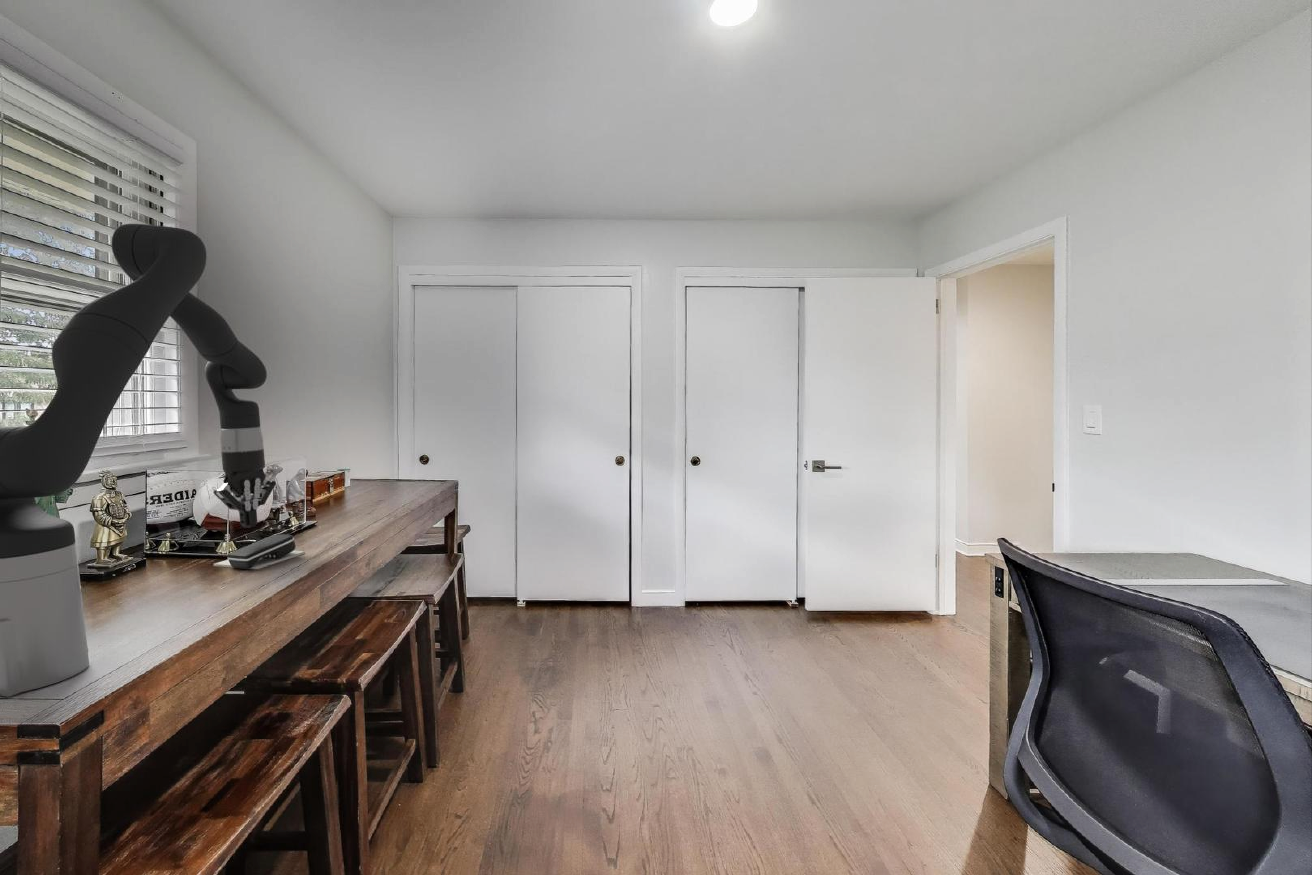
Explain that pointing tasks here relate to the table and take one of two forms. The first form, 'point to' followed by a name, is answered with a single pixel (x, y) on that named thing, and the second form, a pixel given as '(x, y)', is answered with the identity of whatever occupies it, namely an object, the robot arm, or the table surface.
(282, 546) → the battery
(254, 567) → the mat
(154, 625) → the table surface
